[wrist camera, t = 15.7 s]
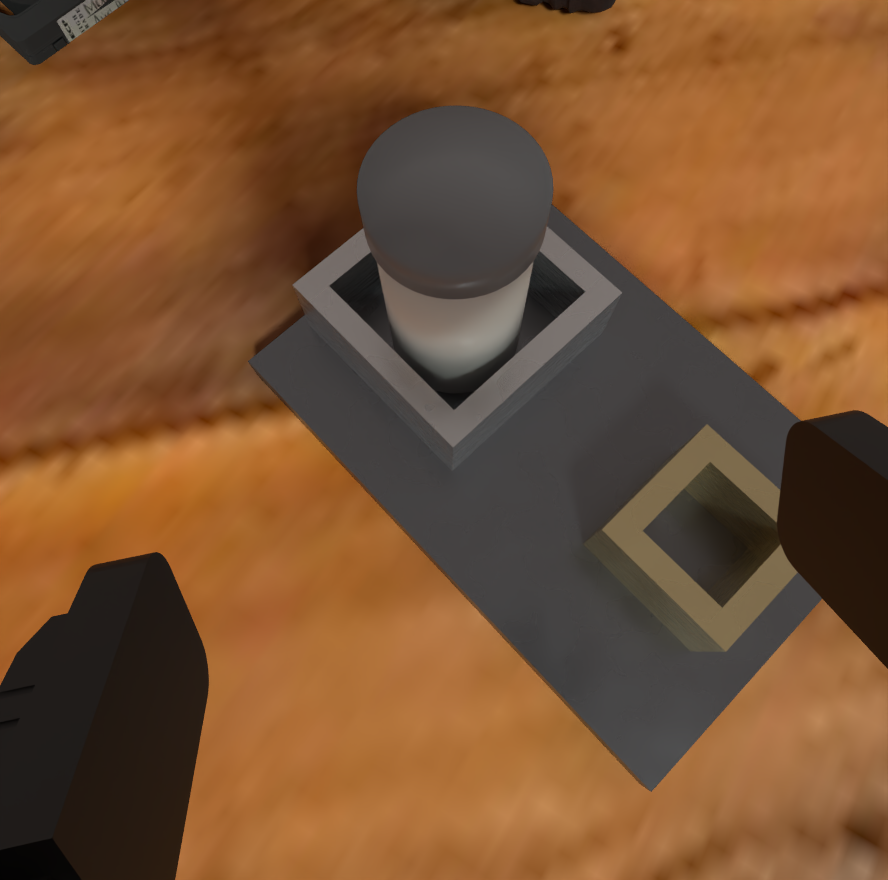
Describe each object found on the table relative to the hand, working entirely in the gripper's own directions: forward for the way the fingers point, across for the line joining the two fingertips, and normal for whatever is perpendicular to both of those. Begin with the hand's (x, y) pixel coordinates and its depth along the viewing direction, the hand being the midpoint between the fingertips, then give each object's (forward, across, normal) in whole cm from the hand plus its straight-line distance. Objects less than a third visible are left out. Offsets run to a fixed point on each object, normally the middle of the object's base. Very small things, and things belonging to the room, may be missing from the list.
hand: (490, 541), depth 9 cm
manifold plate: (+19, -6, +10) cm, 22 cm away
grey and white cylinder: (+21, -2, +5) cm, 22 cm away
